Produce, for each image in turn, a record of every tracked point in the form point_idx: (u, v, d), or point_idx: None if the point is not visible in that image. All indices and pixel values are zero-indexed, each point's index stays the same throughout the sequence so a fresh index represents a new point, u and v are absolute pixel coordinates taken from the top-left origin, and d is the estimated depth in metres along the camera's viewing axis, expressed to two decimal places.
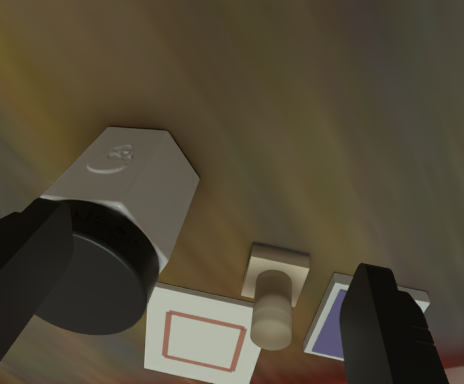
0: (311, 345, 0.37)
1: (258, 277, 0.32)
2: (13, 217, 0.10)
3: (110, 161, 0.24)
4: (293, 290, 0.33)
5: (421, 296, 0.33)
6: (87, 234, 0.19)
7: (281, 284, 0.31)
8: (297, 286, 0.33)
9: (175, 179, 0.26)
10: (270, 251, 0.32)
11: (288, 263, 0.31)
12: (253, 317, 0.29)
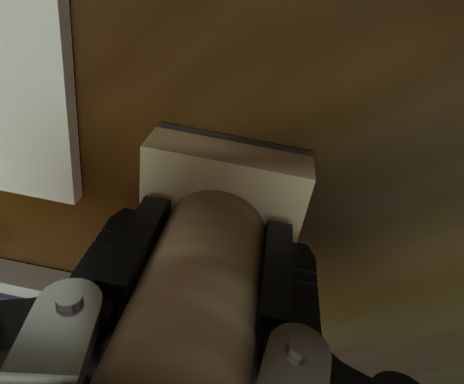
0: (7, 290, 0.15)
1: (238, 202, 0.11)
2: (125, 213, 0.11)
3: None
4: None
5: None
6: None
7: None
8: None
9: None
10: None
11: None
12: (205, 312, 0.07)
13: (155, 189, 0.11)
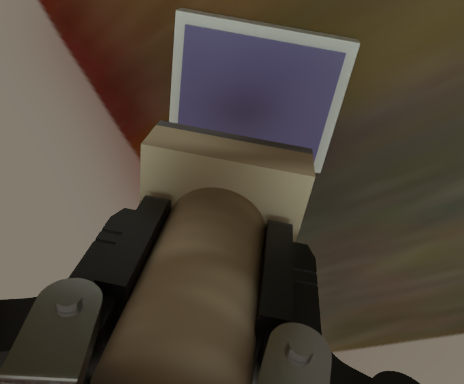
0: (197, 22, 0.21)
1: (238, 199, 0.11)
2: (125, 213, 0.11)
3: None
4: None
5: None
6: None
7: None
8: None
9: None
10: None
11: None
12: (206, 307, 0.07)
13: (156, 187, 0.11)
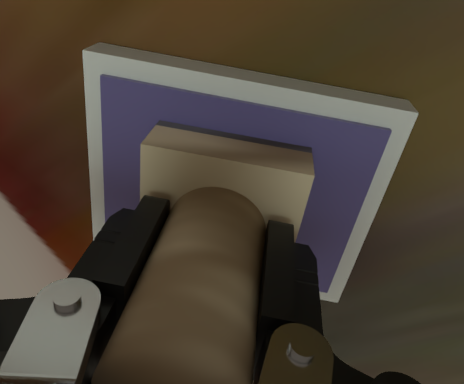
0: (122, 71, 0.12)
1: (238, 199, 0.11)
2: (124, 213, 0.11)
3: None
4: None
5: None
6: None
7: None
8: None
9: None
10: None
11: None
12: (206, 306, 0.07)
13: (156, 187, 0.11)
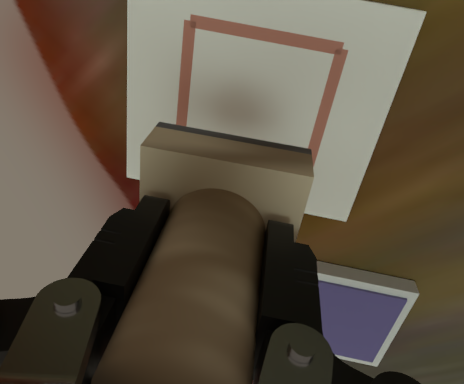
0: None
1: (237, 200, 0.11)
2: (124, 213, 0.11)
3: None
4: None
5: None
6: None
7: None
8: None
9: None
10: None
11: None
12: (205, 308, 0.07)
13: (155, 188, 0.11)
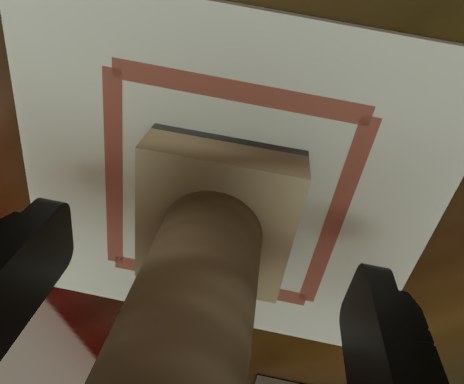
0: None
1: (234, 203, 0.11)
2: (13, 217, 0.10)
3: None
4: None
5: None
6: None
7: None
8: None
9: None
10: None
11: (286, 262, 0.12)
12: (200, 313, 0.07)
13: (151, 190, 0.11)
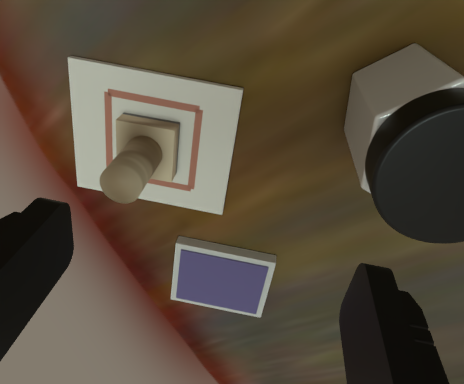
0: (187, 248, 0.38)
1: (149, 139, 0.31)
2: (13, 217, 0.10)
3: None
4: None
5: None
6: None
7: (156, 167, 0.31)
8: None
9: None
10: (176, 142, 0.32)
11: (172, 164, 0.32)
12: (130, 160, 0.28)
13: (121, 136, 0.31)
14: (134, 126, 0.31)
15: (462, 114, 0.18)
